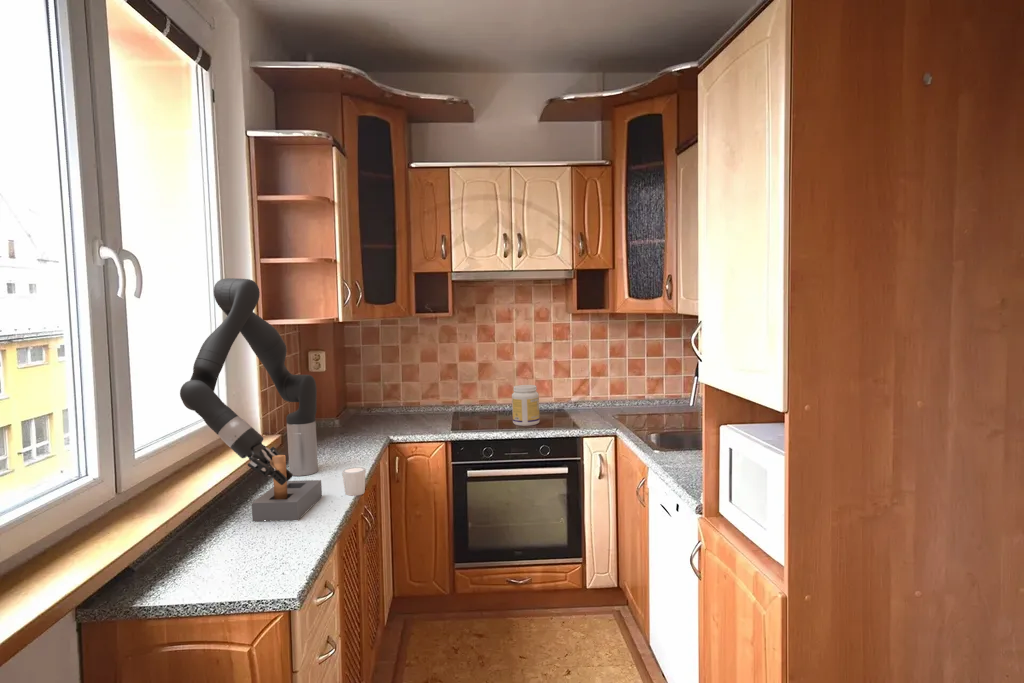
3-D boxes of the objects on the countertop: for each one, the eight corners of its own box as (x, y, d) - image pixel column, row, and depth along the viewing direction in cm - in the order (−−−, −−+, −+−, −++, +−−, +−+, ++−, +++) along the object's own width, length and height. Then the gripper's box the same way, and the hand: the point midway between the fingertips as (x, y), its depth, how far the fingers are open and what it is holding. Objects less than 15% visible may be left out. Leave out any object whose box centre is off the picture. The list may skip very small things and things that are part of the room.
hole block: (281, 497, 188) (280, 481, 188) (322, 496, 188) (321, 480, 187) (252, 521, 168) (251, 503, 168) (297, 520, 168) (296, 502, 167)
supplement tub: (539, 420, 292) (538, 384, 290) (540, 426, 279) (539, 387, 278) (512, 421, 292) (511, 384, 291) (512, 426, 280) (511, 388, 279)
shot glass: (342, 491, 192) (340, 468, 192) (365, 488, 195) (364, 465, 194) (344, 497, 186) (343, 474, 185) (368, 494, 188) (367, 471, 188)
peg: (277, 498, 174) (275, 454, 173) (289, 497, 174) (287, 454, 173) (272, 502, 171) (269, 458, 170) (284, 501, 171) (282, 457, 170)
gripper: (238, 432, 164) (287, 477, 165) (260, 421, 178) (306, 463, 179) (219, 453, 165) (268, 498, 165) (243, 441, 179) (288, 482, 179)
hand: (287, 480), depth 172 cm, fingers closed on peg, 3 cm apart
